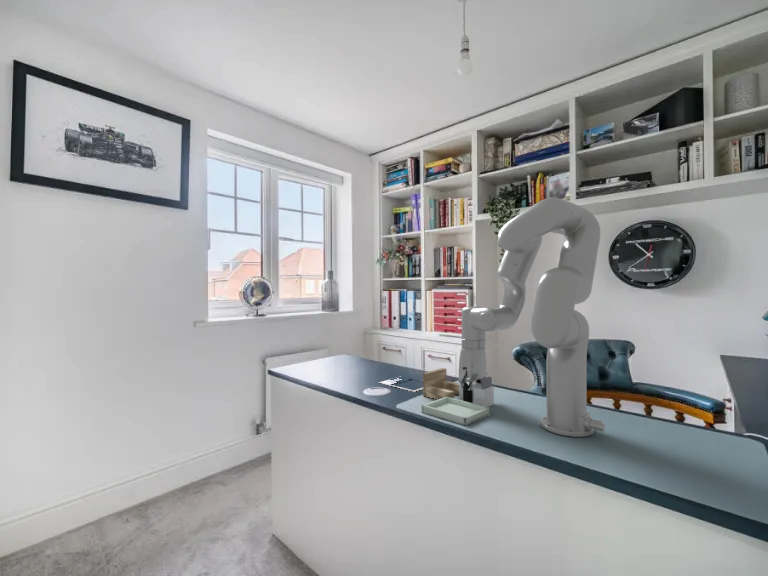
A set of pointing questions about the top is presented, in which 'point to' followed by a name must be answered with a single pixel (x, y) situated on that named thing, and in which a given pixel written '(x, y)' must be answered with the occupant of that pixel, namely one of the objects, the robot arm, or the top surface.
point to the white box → (481, 392)
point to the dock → (438, 385)
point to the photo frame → (389, 382)
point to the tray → (456, 410)
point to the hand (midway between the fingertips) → (473, 399)
